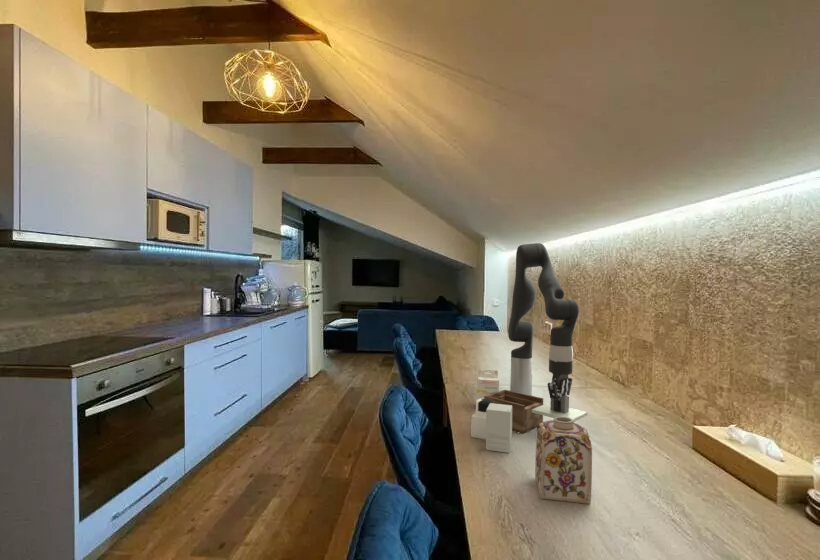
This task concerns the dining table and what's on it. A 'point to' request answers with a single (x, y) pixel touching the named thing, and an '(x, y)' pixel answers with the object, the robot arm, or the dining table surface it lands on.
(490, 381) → the ink cartridge box
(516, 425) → the box
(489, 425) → the supplement box
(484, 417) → the medicine bottle
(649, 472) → the dining table surface
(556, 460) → the decorative jar
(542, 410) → the lid
